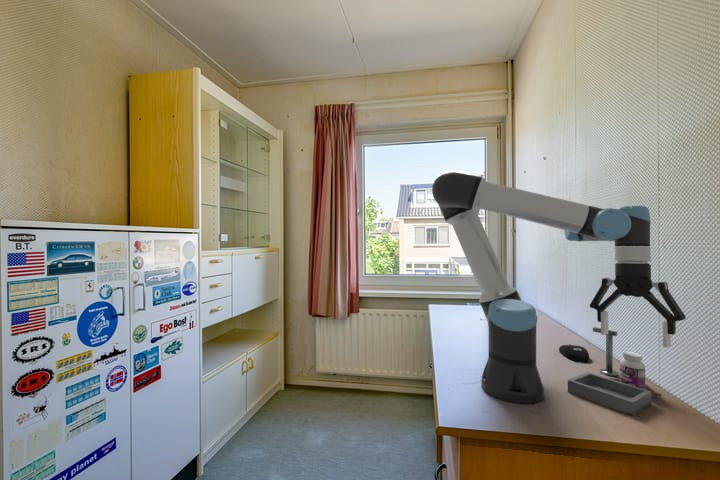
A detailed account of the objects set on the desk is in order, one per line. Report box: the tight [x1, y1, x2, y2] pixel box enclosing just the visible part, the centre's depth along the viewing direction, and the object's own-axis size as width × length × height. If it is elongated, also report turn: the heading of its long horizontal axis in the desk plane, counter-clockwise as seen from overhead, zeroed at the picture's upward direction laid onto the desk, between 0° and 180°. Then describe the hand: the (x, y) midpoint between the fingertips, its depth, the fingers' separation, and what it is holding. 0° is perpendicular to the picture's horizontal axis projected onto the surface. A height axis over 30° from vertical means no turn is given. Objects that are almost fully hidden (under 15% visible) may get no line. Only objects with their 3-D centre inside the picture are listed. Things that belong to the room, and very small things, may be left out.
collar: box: [605, 376, 663, 399], centre depth 88 cm, size 9×9×1 cm
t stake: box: [592, 326, 620, 378], centre depth 99 cm, size 4×6×13 cm
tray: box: [567, 371, 652, 417], centre depth 82 cm, size 11×14×3 cm
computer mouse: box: [558, 343, 590, 364], centre depth 113 cm, size 8×12×4 cm, turn 167°
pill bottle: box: [619, 351, 646, 390], centre depth 88 cm, size 5×5×10 cm
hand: (633, 339), depth 88 cm, fingers open, 13 cm apart
